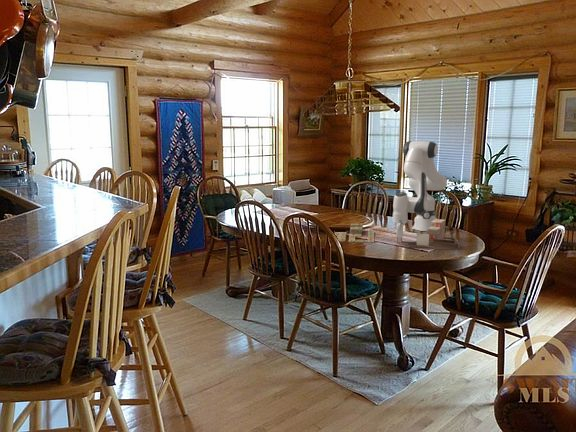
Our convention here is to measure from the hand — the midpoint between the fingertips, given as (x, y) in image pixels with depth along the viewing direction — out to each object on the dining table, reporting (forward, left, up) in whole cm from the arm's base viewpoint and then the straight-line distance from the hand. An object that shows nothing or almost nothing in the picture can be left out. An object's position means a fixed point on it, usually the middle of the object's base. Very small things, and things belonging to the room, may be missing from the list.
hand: (399, 241), depth 307 cm
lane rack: (0, +20, -3) cm, 20 cm away
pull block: (0, +8, -1) cm, 8 cm away
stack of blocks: (-17, +23, -3) cm, 29 cm away
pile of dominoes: (-21, -30, -3) cm, 36 cm away
